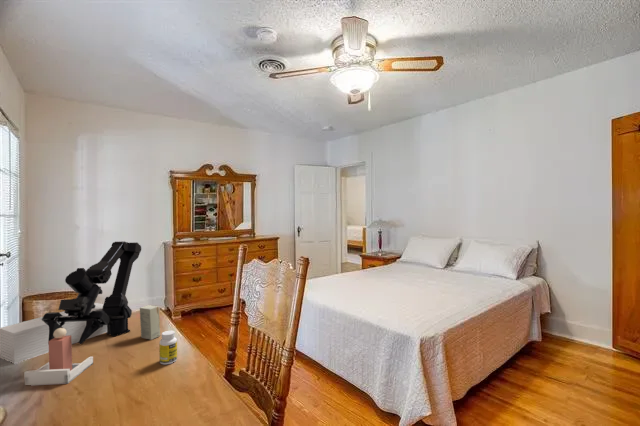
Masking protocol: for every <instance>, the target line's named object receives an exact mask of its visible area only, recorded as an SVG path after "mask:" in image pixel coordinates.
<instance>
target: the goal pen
mask: <svg viewBox="0 0 640 426" xmlns="http://www.w3.org/2000/svg"><path fill="white" fill-rule="evenodd" d="M93 365H94V356H89V357H87V358H86V359H84V360H83V361H82V362H75V363H74V362H72V370H71V371H70V369H52V370H49V361H48V362H46V363H45V364H44V365H42V366H40V367H38V368H37V369H36V370H35V369H34V370H26V371H24V372H23V374H24V375H23V377H24V386H25V385H31V386H44V385H46V386H47V385H50V386H51V385H66V384H69V383H70V382H72V381H73V380H74V379H75V378H77V377H78V376H80V374H82V373H84V371H86V370H87V369H88V368H90V367H91V366H93Z"/></svg>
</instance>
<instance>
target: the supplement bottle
mask: <svg viewBox="0 0 640 426" xmlns="http://www.w3.org/2000/svg"><path fill="white" fill-rule="evenodd" d="M175 336H176V332H175V331H174V330H172V329H171V330H165V331H163V332H161V339H160V341H159V349H158V350H159V364H161V365H171V364H174V363H175V362H177V360H178V339H177V337H175ZM173 362H174V363H173Z"/></svg>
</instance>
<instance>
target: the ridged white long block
mask: <svg viewBox="0 0 640 426" xmlns="http://www.w3.org/2000/svg"><path fill="white" fill-rule="evenodd" d="M94 305H95V308H94V309H92V310H91V312H92V311H102V308H103V305H104V303H100V302H95V303H94ZM58 312H59V311H58ZM59 313H60V314H61V315H63V316H68V314H66V313H65V310H62V311H61V312H59ZM42 318H43V316H41V317H37V318H33V319H29V320H24V321H20V322H17V323H13V324H10V325H6V326H2V327H0V359H2V360H4V359H5V360H4V361H6V360H7V362H8V361H10V362H9V363H11V362H12V363H11V364H13V363H14V364H13V365H16V364H19V363H22V362H24V361H23V360H25V361H28V360H31V359H33V358H36V357H40V356H43V355H45V354H49V345H48V340H49V326H48V325H47V324H46V323H45V322H43V321H42ZM62 327H63V328H64V329H66V335H65V336H70V335H71V341H72V345H74V344H77V343H79V340H80V338H81V335H82V333H83V331H84V329H85V327H86V321H75V322H65V324H64V325H63V326H62ZM106 332H107V325H103V327H100V328H99V329H98V330H96V331H95V332H94V333H93V334H92V335H90V336H89V337H88V338H87V339H86V340H88V339H91V338H95V337H96V336H100V335H102V334H105V333H106ZM27 359H28V360H27ZM21 361H22V362H21ZM18 362H19V363H18ZM15 363H16V364H15Z"/></svg>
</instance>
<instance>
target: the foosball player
mask: <svg viewBox="0 0 640 426" xmlns="http://www.w3.org/2000/svg"><path fill="white" fill-rule="evenodd" d="M53 335H54V337H55V338H54V339H52V340H50V341H49V352H48V362H49V370H52V369H70V371H71V370H72V364H73V347H72V345H73V344H72V341H71V335H70V336H65V335H66V329H64V328H58V329H56V330H55V331H54V334H53Z"/></svg>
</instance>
